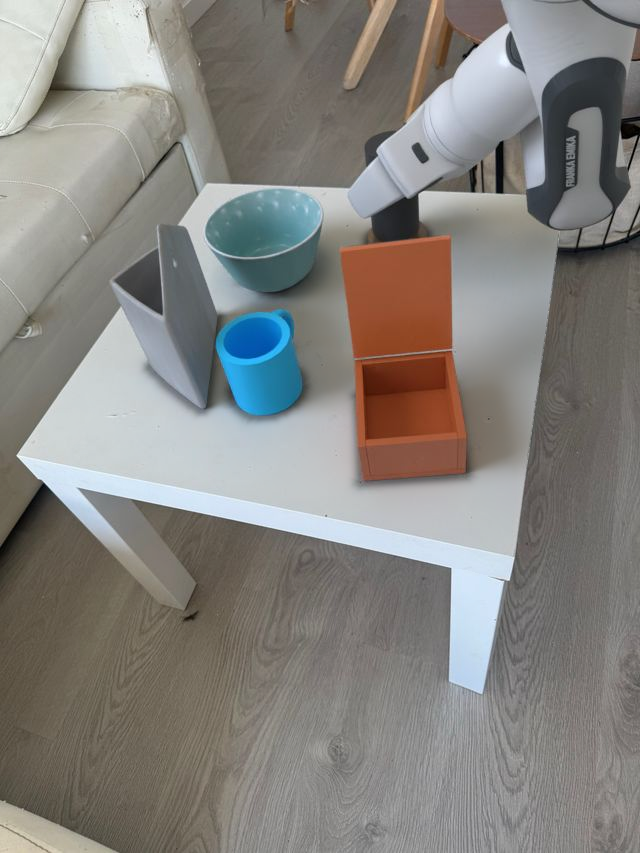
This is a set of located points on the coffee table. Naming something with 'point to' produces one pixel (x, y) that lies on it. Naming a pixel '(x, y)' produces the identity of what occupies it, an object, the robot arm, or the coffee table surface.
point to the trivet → (419, 234)
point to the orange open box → (409, 416)
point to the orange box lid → (399, 296)
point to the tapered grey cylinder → (398, 216)
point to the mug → (261, 361)
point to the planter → (171, 312)
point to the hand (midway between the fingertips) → (389, 187)
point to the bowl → (266, 237)
